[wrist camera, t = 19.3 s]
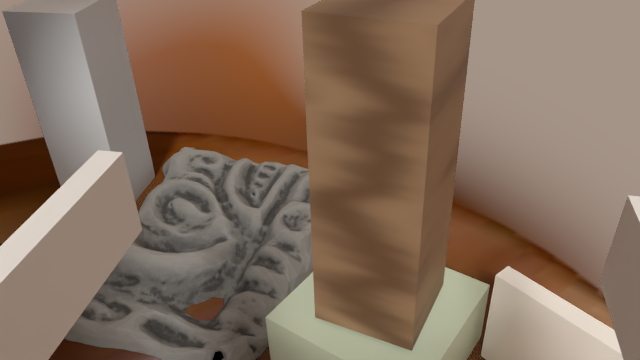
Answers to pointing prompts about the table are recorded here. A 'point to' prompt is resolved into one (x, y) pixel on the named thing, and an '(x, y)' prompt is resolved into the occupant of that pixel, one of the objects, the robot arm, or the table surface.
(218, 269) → the wall plaque
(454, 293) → the sage base block
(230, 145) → the table surface
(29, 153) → the table surface
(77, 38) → the grey plastic block
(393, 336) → the walnut block
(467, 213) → the table surface
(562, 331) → the card
